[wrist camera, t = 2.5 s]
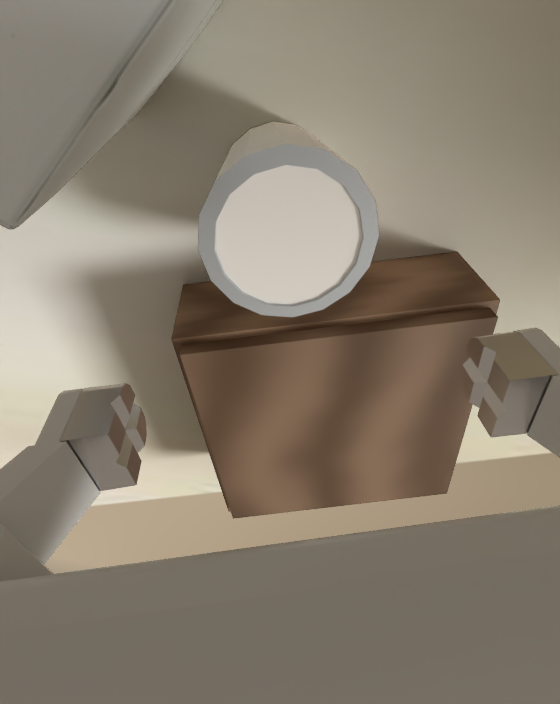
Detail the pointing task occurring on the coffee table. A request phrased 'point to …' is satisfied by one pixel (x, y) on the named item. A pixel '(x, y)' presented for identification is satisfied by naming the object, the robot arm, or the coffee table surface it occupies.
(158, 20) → the supplement box
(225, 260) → the white cylinder
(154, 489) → the coffee table surface
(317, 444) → the walnut box
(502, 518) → the robot arm
